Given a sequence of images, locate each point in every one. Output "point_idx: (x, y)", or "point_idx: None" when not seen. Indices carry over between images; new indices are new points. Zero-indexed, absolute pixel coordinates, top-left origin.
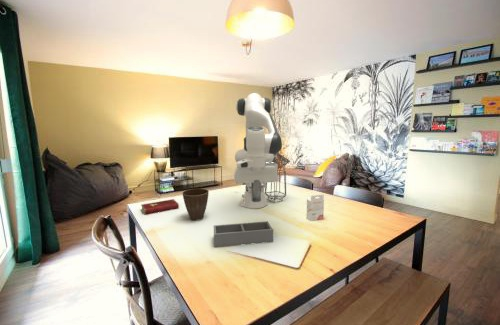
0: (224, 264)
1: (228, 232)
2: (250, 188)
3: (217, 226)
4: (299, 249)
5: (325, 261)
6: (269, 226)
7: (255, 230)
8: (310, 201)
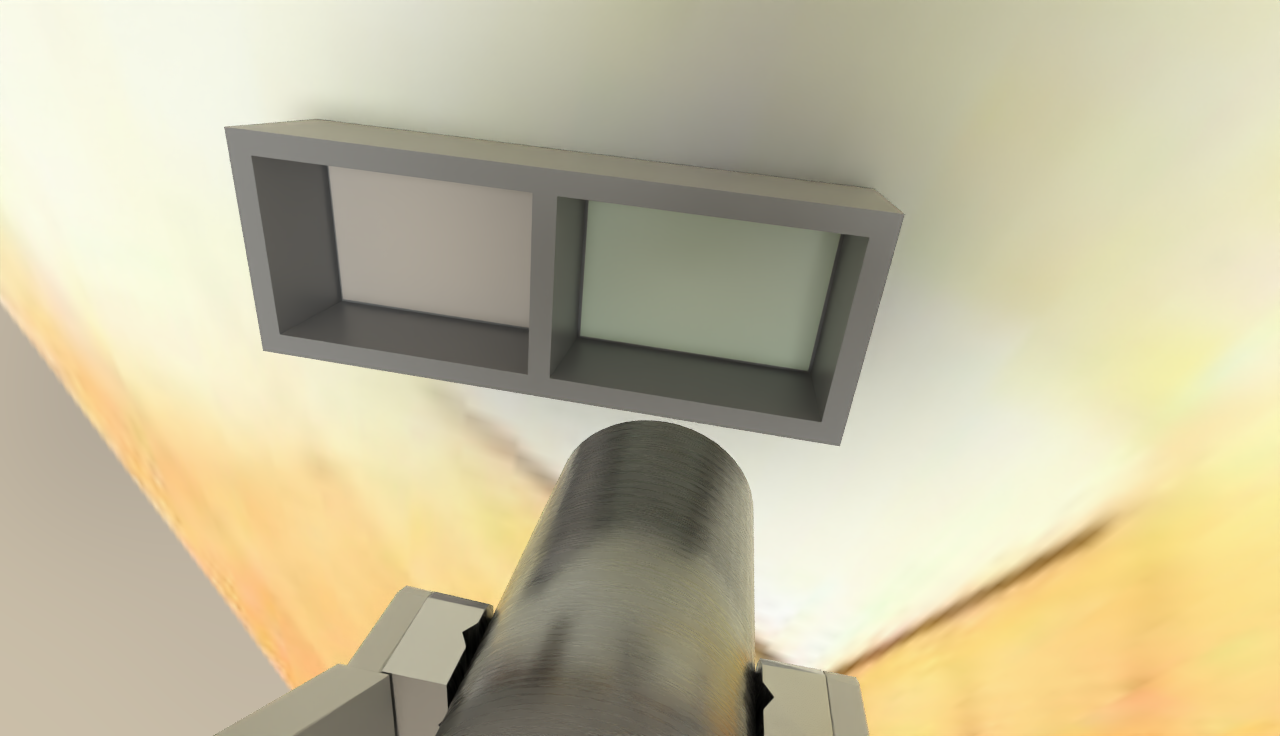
0: (412, 519)
1: (390, 353)
2: (416, 723)
3: (273, 157)
4: (959, 548)
5: (1013, 700)
6: (842, 365)
7: (655, 403)
8: None
